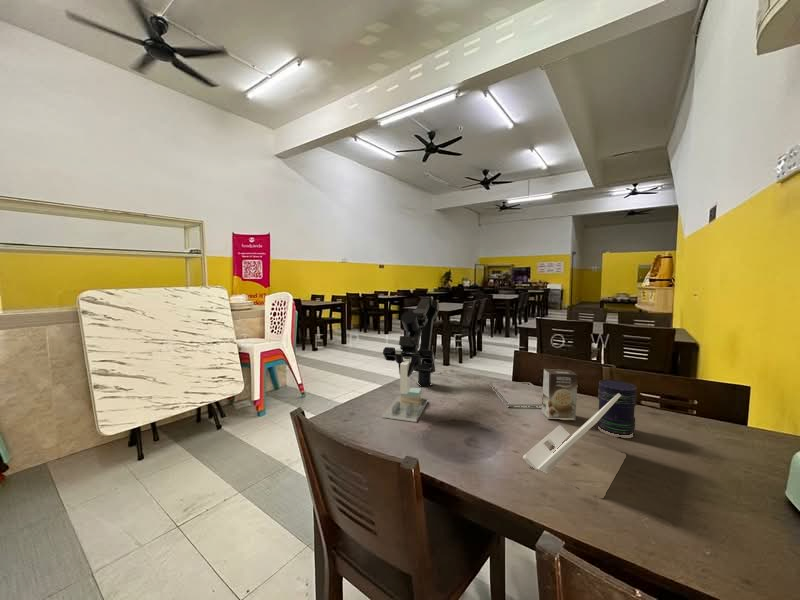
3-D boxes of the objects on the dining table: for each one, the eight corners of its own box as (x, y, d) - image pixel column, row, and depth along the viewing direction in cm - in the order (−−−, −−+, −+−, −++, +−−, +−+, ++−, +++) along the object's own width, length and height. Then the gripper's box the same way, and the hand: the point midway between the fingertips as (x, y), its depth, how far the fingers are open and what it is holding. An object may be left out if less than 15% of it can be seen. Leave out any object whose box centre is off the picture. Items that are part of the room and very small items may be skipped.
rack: (398, 398, 127) (398, 390, 127) (427, 401, 124) (428, 393, 123) (382, 417, 109) (382, 408, 109) (416, 422, 105) (416, 413, 105)
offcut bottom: (404, 396, 126) (404, 391, 126) (421, 398, 124) (421, 393, 124) (400, 401, 121) (400, 396, 121) (418, 403, 119) (418, 398, 119)
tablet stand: (627, 456, 86) (630, 394, 85) (603, 500, 68) (607, 424, 67) (557, 433, 99) (559, 379, 98) (521, 465, 81) (523, 400, 80)
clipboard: (507, 405, 118) (486, 380, 147) (507, 409, 118) (486, 383, 148) (559, 405, 117) (527, 380, 147) (559, 410, 117) (527, 383, 147)
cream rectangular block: (403, 389, 116) (403, 360, 116) (410, 389, 116) (410, 361, 115) (400, 393, 112) (400, 364, 111) (406, 394, 111) (407, 364, 111)
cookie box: (547, 420, 107) (549, 373, 106) (541, 412, 114) (542, 368, 113) (576, 421, 106) (578, 374, 105) (568, 413, 113) (569, 369, 112)
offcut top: (404, 391, 126) (404, 386, 125) (421, 393, 124) (421, 388, 123) (400, 396, 121) (400, 390, 121) (418, 398, 119) (418, 392, 119)
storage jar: (597, 434, 98) (599, 386, 97) (595, 421, 106) (597, 378, 105) (637, 442, 93) (640, 392, 92) (631, 428, 102) (633, 382, 101)
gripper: (384, 325, 119) (373, 362, 109) (433, 328, 113) (426, 366, 104) (391, 342, 127) (381, 377, 117) (437, 345, 121) (431, 382, 112)
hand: (404, 376), depth 112 cm, fingers closed on cream rectangular block, 2 cm apart
